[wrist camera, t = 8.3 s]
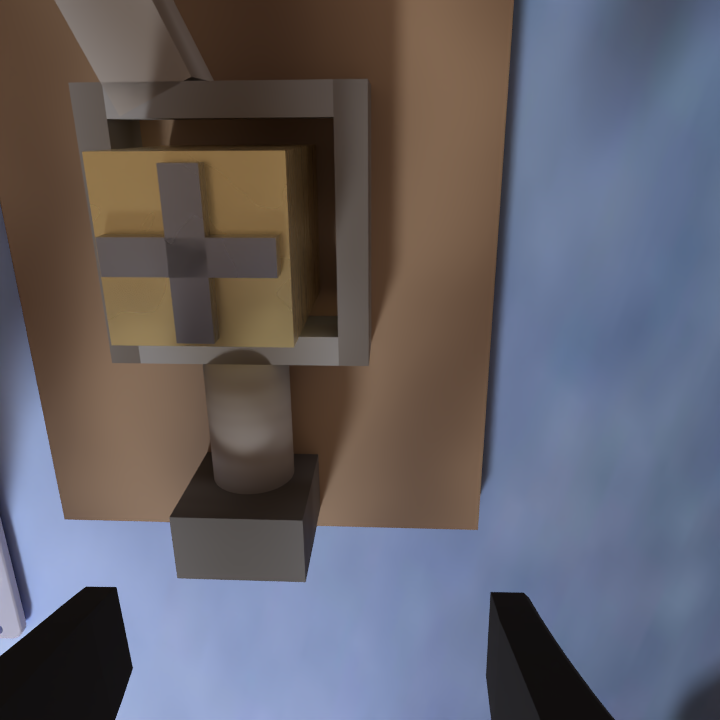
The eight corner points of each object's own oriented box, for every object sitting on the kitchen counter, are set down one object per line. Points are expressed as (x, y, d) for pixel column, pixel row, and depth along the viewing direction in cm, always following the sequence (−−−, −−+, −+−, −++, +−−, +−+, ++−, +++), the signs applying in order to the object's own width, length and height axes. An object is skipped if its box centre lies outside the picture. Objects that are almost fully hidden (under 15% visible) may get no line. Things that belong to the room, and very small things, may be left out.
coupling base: (81, 499, 22) (2, 592, 18) (-51, -193, 15) (-233, -324, 11) (473, 509, 22) (494, 608, 17) (520, -215, 15) (574, -365, 10)
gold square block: (184, 289, 18) (103, 351, 13) (169, 145, 17) (71, 151, 12) (320, 290, 18) (290, 353, 13) (316, 144, 17) (281, 151, 12)
